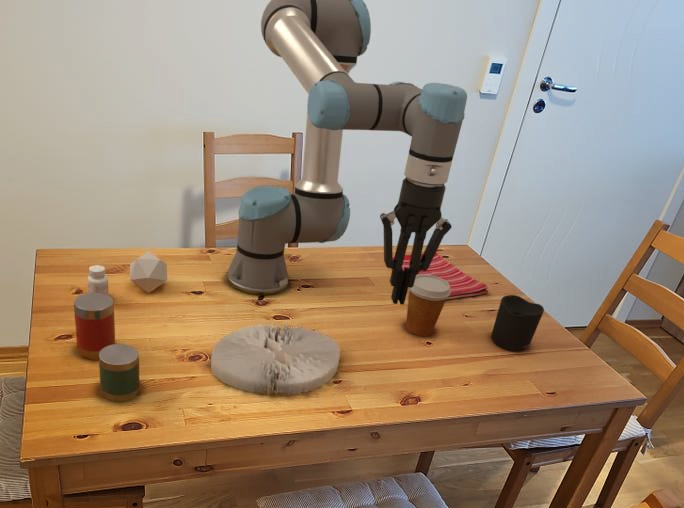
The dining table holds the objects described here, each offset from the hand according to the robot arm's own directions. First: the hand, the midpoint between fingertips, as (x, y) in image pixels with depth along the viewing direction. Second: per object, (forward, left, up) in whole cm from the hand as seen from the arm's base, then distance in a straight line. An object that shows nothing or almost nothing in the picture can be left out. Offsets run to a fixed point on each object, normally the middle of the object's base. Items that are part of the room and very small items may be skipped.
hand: (397, 300), depth 124 cm
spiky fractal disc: (0, -22, -17) cm, 28 cm away
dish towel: (-48, +23, -17) cm, 56 cm away
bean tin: (+13, -51, -16) cm, 55 cm away
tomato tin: (0, -58, -16) cm, 60 cm away
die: (-29, -52, -17) cm, 62 cm away
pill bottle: (-21, -62, -17) cm, 68 cm away
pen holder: (-16, +33, -17) cm, 40 cm away
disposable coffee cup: (-19, +12, -17) cm, 28 cm away
